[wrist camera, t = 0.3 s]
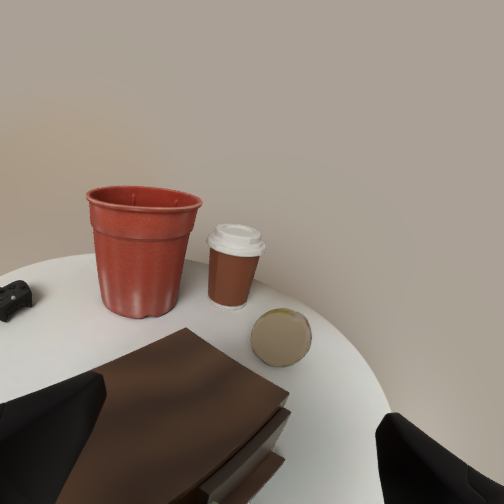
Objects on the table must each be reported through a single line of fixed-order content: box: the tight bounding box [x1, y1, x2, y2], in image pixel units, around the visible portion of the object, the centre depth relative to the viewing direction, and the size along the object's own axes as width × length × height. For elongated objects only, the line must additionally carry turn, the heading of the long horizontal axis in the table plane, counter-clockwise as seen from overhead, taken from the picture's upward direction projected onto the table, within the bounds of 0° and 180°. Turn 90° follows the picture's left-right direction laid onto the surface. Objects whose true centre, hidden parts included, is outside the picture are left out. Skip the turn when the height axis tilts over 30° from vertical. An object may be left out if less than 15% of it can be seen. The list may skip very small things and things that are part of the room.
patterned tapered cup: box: [251, 308, 312, 367], centre depth 34 cm, size 8×10×10 cm
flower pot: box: [86, 186, 203, 319], centre depth 37 cm, size 16×16×16 cm
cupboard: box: [55, 328, 291, 504], centre depth 13 cm, size 12×18×9 cm
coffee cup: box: [206, 224, 266, 310], centre depth 43 cm, size 9×9×12 cm
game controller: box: [0, 280, 32, 322], centre depth 27 cm, size 10×5×6 cm
